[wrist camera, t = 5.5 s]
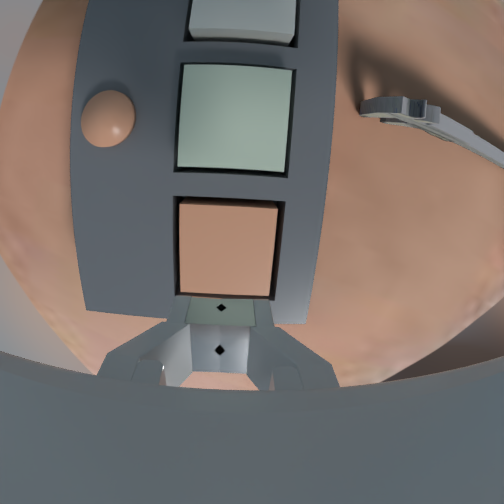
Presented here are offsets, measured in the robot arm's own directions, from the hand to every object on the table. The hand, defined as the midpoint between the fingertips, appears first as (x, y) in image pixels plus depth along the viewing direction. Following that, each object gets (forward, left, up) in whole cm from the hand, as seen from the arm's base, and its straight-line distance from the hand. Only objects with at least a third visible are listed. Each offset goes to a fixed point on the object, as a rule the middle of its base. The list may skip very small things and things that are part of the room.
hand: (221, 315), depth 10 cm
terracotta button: (0, 0, -10) cm, 10 cm away
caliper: (-8, +18, -11) cm, 23 cm away
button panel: (-7, -2, -11) cm, 13 cm away
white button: (-14, 0, -9) cm, 16 cm away
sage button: (-7, 0, -9) cm, 11 cm away
